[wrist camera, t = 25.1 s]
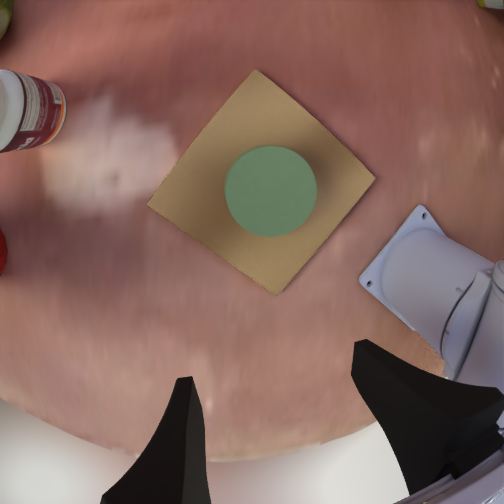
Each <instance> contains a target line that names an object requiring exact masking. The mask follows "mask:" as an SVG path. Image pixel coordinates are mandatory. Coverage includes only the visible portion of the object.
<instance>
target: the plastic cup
mask: <svg viewBox="0 0 504 504" xmlns="http://www.w3.org/2000/svg"><path fill="white" fill-rule="evenodd" d="M6 261H7V247H6V243H5V238H4V235H3V233H2V231H1V229H0V275H1V273H2V271H3V269H4V267H5V265H6Z"/></svg>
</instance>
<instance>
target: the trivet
mask: <svg viewBox="0 0 504 504" xmlns="http://www.w3.org/2000/svg"><path fill="white" fill-rule="evenodd" d="M264 145H271V146H279V147H284V148H287V149H290V150H292V151H294V152H296V153H297V154H299V155H300V156H301V157H302V158H304V160H305V161H306V162H307V163H308V164H309V166H310V167H311V169H312V171H313V173H314V176H315V179H316V185H317V196H316V201H315V204H314V207H313V210H312V212H311V213H310V215H309V217H308V218H307V219H306V220H305V222H304V223H303V224H302V225H300V226H299V227H298V228H297V229H295V230H293V231H292V232H289V233H287V234H284V235H281V236H276V237H265V236H259V235H256V234H253V233H251V232H249V231H247V230H245V229H244V228H243V227H241V226H240V225H239V224H238V223H237V222H236V221H235V219H234V218H233V216H232V215H231V213H230V211H229V209H228V205H227V202H226V198H225V193H224V184H225V178H226V174H227V172H228V170H229V168H230V166H231V164H232V163H233V162H234V160H235V159H236V158H237V157H238V156H240V155H241V154H242V153H243V152H245V151H247V150H249V149H251V148H254V147H257V146H264ZM375 179H376V178H375V177H374V176H373V175H372V173H371V172H370V171H369V170H368V169H367V168H366V167H365V166H364V165H363V164H362V163H361V162H360V161H359V160H358V159H357V158H356V157H355V156H354V155H353V154H352V153H351V152H350V151H349V150H348V149H347V148H346V147H345V146H344V145H343V144H342V143H341V142H340V141H339V140H338V139H337V138H336V137H335V136H334V135H333V134H332V133H331V132H330V131H328V130H327V129H326V128H325V127H324V126H323V125H322V124H321V123H320V122H319V121H318V120H317V119H315V118H314V117H313V116H312V115H311V114H310V113H309V112H308V111H307V110H305V109H304V108H303V107H302V106H301V105H300V104H299V103H297V102H296V101H295V100H294V99H293V98H292V97H290V96H289V95H288V94H287V93H286V92H284V91H283V90H282V89H281V88H280V87H278V86H277V85H276V84H275V83H273V82H272V81H271V80H270V79H268V78H267V77H266V76H265V75H263V74H262V73H261V72H260V71H258V70H257V69H255V70H254V71H253V72H252V73H251V74H250V75H249V76H248V77H247V78H246V79H245V81H244V82H243V83H242V84H241V85H240V86H239V87H238V88H237V90H236V91H235V92H234V93H233V94H232V95H231V96H230V98H229V99H228V100H227V101H226V102H225V103H224V105H223V106H222V107H221V108H220V109H219V110H218V112H217V113H216V114H215V115H214V116H213V118H212V119H211V120H210V121H209V122H208V124H207V125H206V126H205V127H204V129H203V130H202V131H201V132H200V134H199V135H198V136H197V137H196V139H195V140H194V141H193V142H192V144H191V145H190V146H189V148H188V149H187V150H186V151H185V153H184V154H183V155H182V157H181V158H180V159H179V161H178V162H177V163H176V165H175V166H174V167H173V169H172V170H171V171H170V173H169V174H168V175H167V177H166V178H165V180H164V181H163V182H162V184H161V185H160V187H159V188H158V189H157V191H156V192H155V194H154V195H153V196H152V198H151V199H150V201H149V202H148V204H147V205H148V206H149V207H150V208H152V209H153V210H155V211H156V212H157V213H159V214H160V215H162V216H163V217H164V218H166V219H167V220H169V221H170V222H171V223H173V224H174V225H176V226H177V227H178V228H180V229H181V230H183V231H184V232H185V233H187V234H188V235H190V236H191V237H192V238H194V239H195V240H197V241H198V242H200V243H201V244H202V245H204V246H205V247H207V248H208V249H210V250H211V251H212V252H214V253H215V254H217V255H218V256H220V257H221V258H222V259H224V260H225V261H227V262H228V263H230V264H231V265H232V266H234V267H235V268H237V269H238V270H240V271H241V272H243V273H244V274H245V275H247V276H248V277H250V278H251V279H253V280H254V281H256V282H257V283H259V284H260V285H261V286H263V287H264V288H266V289H267V290H269V291H270V292H272V293H273V294H275V295H276V296H277V295H278V294H279V293H280V292H281V291H282V290H283V288H284V287H285V286H286V285H287V284H288V283H289V282H290V280H291V279H292V278H293V277H294V276H295V275H296V274H297V272H298V271H299V270H300V269H301V268H302V267H303V266H304V264H305V263H306V262H307V261H308V260H309V259H310V257H311V256H312V255H313V254H314V253H315V252H316V250H317V249H318V248H319V247H320V246H321V245H322V243H323V242H324V241H325V240H326V239H327V238H328V236H329V235H330V234H331V233H332V232H333V230H334V229H335V228H336V227H337V226H338V224H339V223H340V222H341V221H342V220H343V218H344V217H345V216H346V215H347V214H348V212H349V211H350V210H351V209H352V207H353V206H354V205H355V204H356V203H357V201H358V200H359V199H360V198H361V196H362V195H363V194H364V193H365V191H366V190H367V189H368V188H369V187H370V185H371V184H372V183H373V182H374V180H375Z"/></svg>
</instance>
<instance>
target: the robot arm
mask: <svg viewBox="0 0 504 504" xmlns="http://www.w3.org/2000/svg"><path fill="white" fill-rule="evenodd" d="M423 214H424V217H423V218H422V215H423ZM369 281H370V283H369V284H368V285H367V283H368V282H369ZM359 283H360V284H361V285H362V286H363V287H364V288H365V289H367V290H368V291H369V292H370V293H371V294H372V295H374V296H375V297H376V298H377V299H378V300H379V301H380V302H382V303H383V304H384V305H385V306H386V307H387V308H388V309H390V310H391V311H392V312H393V313H394V314H395V315H396V316H397V317H399V318H400V319H401V320H402V321H403V322H404V323H405V324H406V325H407V326H409V327H410V328H411V329H412V330H413V331H417V332H418V333H419V334H420V335H421V336H422V337H423V338H424V339H425V340H426V342H427V343H428V344H429V345H430V346H431V347H432V348H433V349H434V350H435V351H436V352H437V353H438V354H439V356H440V357H441V358H442V359H443V360H444V361H445V367H444V370H443V373H444V374H445V375H446V376H447V377H448V378H449V380H448V379H445V378H442V377H439V376H436V375H434V374H431V373H428V372H426V371H424V370H421V369H419V368H417V367H415V366H413V365H411V364H409V363H407V362H405V361H403V360H402V359H400V358H398V357H396V356H394V355H393V354H391V353H389V352H388V351H386V350H384V349H383V348H381V347H379V346H378V345H376V344H374V343H373V342H371V341H369V340H368V339H364V340H361V341H357V342H355V344H354V353H353V362H352V370H351V376H352V378H353V381H354V383H355V385H356V387H357V389H358V391H359V393H360V395H361V396H362V398H363V399H364V401H365V402H366V404H367V406H368V407H369V409H370V410H371V412H372V413H373V415H374V416H375V418H376V419H377V421H378V422H379V424H380V425H381V427H382V428H383V431H384V432H385V434H386V436H387V438H388V440H389V443H390V445H391V447H392V449H393V451H394V454H395V456H396V458H397V461H398V463H399V465H400V468H401V471H402V473H403V476H404V479H405V482H406V485H407V488H408V491H409V495H410V496H409V497H407V498H405V499H402V500H401V501H398V502H396V503H394V504H490V503H491V502H492V501H494V500H495V499H496V498H497V497H499V496H500V495H501V494H502V493H503V492H504V259H502V260H499V261H498V262H496V264H495V263H493V262H491V261H489V260H488V259H486V258H484V257H482V256H481V255H479V254H477V253H475V252H473V251H472V250H470V249H468V248H466V247H464V246H462V245H461V244H459V243H457V242H455V241H453V240H451V239H449V238H447V237H446V235H445V234H444V232H443V231H442V230H441V228H440V227H439V225H438V224H437V223H436V221H435V220H434V219H433V217H432V216H431V215H430V213H429V212H428V211H427V209H426V208H425V207H424V206H422V205H417V206H416V207H415V209H414V210H413V211H412V213H411V214H410V215H409V217H408V218H407V219H406V220H405V222H404V223H403V224H402V226H401V227H400V228H399V229H398V231H397V232H396V233H395V234H394V236H393V237H392V238H391V239H390V241H389V242H388V243H387V244H386V245H385V247H384V248H383V249H382V250H381V252H380V253H379V254H378V255H377V256H376V258H375V259H374V260H373V261H372V262H371V263H370V265H369V266H368V267H367V268H366V269H365V271H364V272H363V273H362V274H361V275H360V277H359ZM100 504H211V499H210V494H209V488H208V482H207V475H206V453H205V426H204V419H203V412H202V406H201V403H200V400H199V397H198V394H197V390H196V387H195V384H194V381H193V377H192V376H190V377H182V378H178V379H177V380H176V383H175V386H174V389H173V392H172V395H171V398H170V401H169V403H168V406H167V408H166V410H165V413H164V415H163V417H162V419H161V421H160V423H159V425H158V427H157V429H156V431H155V433H154V435H153V437H152V438H151V440H150V442H149V443H148V445H147V446H146V448H145V449H144V451H143V452H142V454H141V455H140V456H139V458H138V459H137V460H136V462H135V463H134V464H133V466H132V467H131V468H130V469H129V470H128V471H127V472H126V473H125V474H124V475H123V477H122V478H121V479H120V480H119V481H118V482H117V483H116V484H115V485H114V486H112V487H111V488H110V489H109V490H108V491H107V492H106V493H104V494H103V495H102V498H101V502H100Z"/></svg>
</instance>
